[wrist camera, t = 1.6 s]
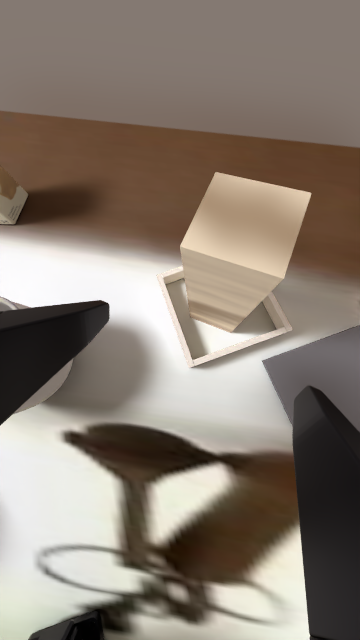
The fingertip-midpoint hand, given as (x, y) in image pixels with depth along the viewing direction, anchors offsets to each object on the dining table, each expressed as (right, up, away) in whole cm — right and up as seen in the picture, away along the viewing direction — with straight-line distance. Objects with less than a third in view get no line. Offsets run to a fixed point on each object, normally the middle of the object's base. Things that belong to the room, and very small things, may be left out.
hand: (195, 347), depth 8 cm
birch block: (+4, +3, +14) cm, 14 cm away
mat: (+15, -6, +10) cm, 19 cm away
